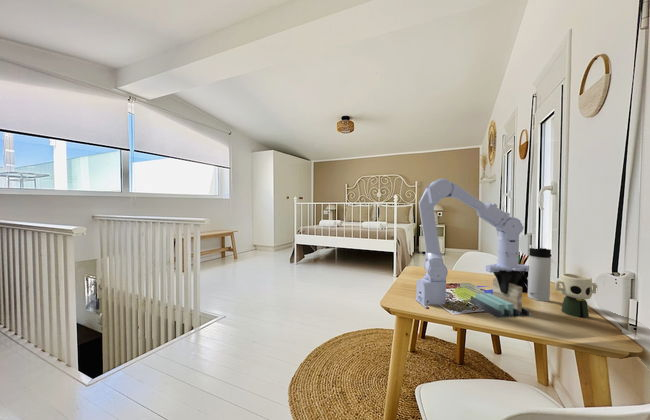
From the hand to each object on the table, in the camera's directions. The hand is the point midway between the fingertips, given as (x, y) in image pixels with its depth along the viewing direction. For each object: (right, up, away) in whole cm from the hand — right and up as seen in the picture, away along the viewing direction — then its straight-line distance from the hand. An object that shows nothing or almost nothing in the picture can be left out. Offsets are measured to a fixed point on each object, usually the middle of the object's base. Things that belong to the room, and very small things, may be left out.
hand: (506, 292), depth 86 cm
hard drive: (+6, -6, +16) cm, 18 cm away
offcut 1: (-6, -5, -1) cm, 8 cm away
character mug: (+19, -6, -4) cm, 20 cm away
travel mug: (+18, -6, +9) cm, 21 cm away
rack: (-3, -6, 0) cm, 7 cm away
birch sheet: (0, -5, 0) cm, 4 cm away
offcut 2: (-3, -5, 0) cm, 6 cm away
